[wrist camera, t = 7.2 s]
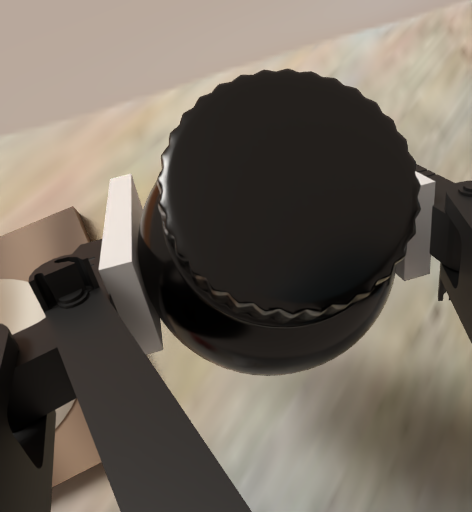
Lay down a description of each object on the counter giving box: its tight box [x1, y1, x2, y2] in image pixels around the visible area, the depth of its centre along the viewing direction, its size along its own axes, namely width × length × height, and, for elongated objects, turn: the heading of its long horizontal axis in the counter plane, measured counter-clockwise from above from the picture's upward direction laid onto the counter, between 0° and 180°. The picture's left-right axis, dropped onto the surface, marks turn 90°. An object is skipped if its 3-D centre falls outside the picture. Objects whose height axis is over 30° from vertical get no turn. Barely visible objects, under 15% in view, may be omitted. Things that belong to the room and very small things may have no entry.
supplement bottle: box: [138, 69, 421, 376], centre depth 13 cm, size 7×7×12 cm
